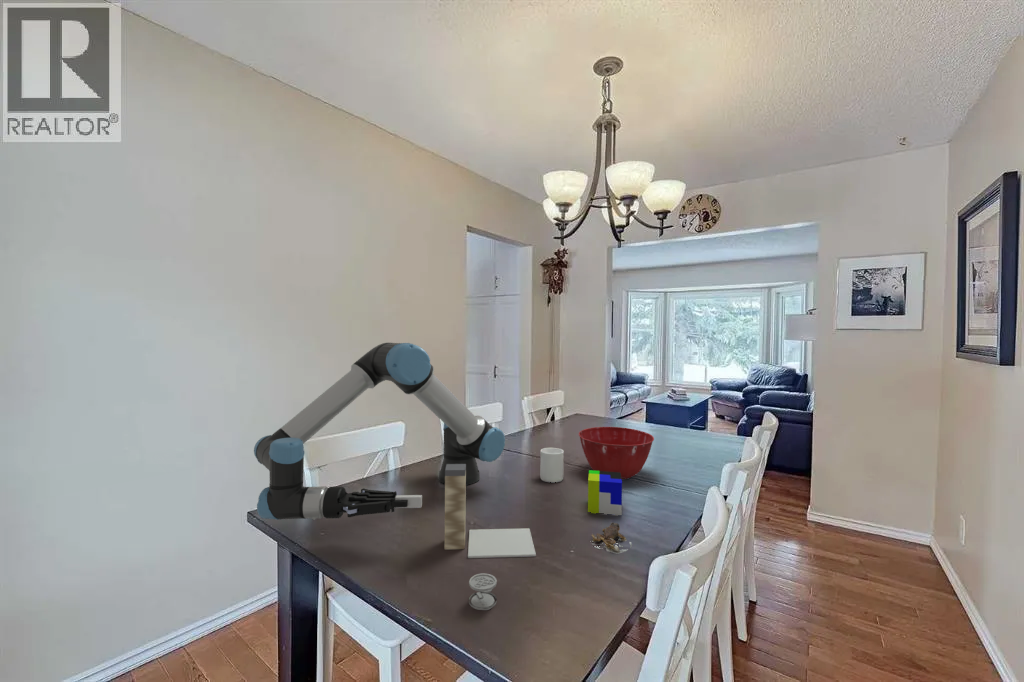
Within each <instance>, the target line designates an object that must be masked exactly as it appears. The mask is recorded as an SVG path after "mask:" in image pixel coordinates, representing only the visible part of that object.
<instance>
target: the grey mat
mask: <svg viewBox="0 0 1024 682" xmlns="http://www.w3.org/2000/svg"><path fill="white" fill-rule="evenodd" d="M533 541H534V540H533V538H532V533H531V529H530V528H529V527H528V528H523V527H522V528H491V529H490V528H483V529H469V533H468V547H467V549H468V550H467V559H485V558H486V559H487V558H488V559H489V558H492V559H493V558H523V557H524V558H525V557H527V558H529V557H537V554H536V549H535V546H534V542H533Z"/></svg>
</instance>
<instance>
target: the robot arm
mask: <svg viewBox="0 0 1024 682" xmlns="http://www.w3.org/2000/svg"><path fill="white" fill-rule="evenodd" d="M434 372H435V368H434V366H433V365H432V364H431V358H430V355H429V354H428V353H427V351H426V350H425V349H424V348H422V347H421V346H419V345H416V344H414V343H410V342H384V343H381V344H378V345H376V346H374V347H372V348H371V349H370V350H369V351H367V352H366V353H365V354H363V355H362V356H361V357H360V358H358V359H357V360H356V361H355V362H353V364H352V365H351V366H350V370H349V371H348V372H347V373H345V374H344V375H343V376H342V377H341V378H339V380H337V381H336V382H334V384H332V385H331V386H330V387H328V388H327V389H326V390H324V392H322V393H321V394H320V395H318V396H317V398H315V399H314V400H313V401H312V402H311V403H309V404H308V405H306V407H304V408H303V409H302V410H301V411H299V413H297V414H295V416H293V417H292V418H291V419H289V421H287V422H286V423H285V424H284V425H283V426H282V427H279V429H278V430H276V431H275V432H273V434H270V435H265V436H262V437H261V438H259V440H258V441H257V442H256V443H255V445H254V447H253V454H254V456H255V458H256V460H257V461H258V463H259V464H260V465H263V466H264V467H265V468H266V470H268V471H269V486H267V487H264V488H263V489H262V491H261V492H260V493H259V495H258V499H257V501H258V502H257V503H256V511H257V515H258V516H259V517H260V518H261V519H265V520H267V519H268V520H277V521H278V520H296V519H298V520H299V519H302V520H303V519H305V520H306V519H311V520H313V521H316V520H317V519H323V518H325V519H340V518H342V516H343V514H346V513H347V518H353V517H357V516H365V515H375V514H384V513H390V512H391V513H394V512H395V509H422V506H423V495H422V494H402V495H401V494H399V495H398V494H397V491H388V490H375V489H368V488H361V489H360V491H352V492H349V493H348V492H347V491H346V488H345V486H329V487H328V486H326V485H325V486H304V465H305V463H304V462H305V461H304V460H305V449H304V444H306V442H307V441H309V440H310V439H311V438H312V437H314V435H316V434H317V433H318V432H319V431H320V430H322V429H323V428H324V427H325V426H326V425H327V424H328V423H329V422H331V421H332V420H333V419H335V417H336V416H338V415H339V414H341V412H342V411H344V409H346V408H347V407H349V406H350V405H351V404H352V403H353V402H354V401H355V400H356V399H357V398H358V397H360V396H361V395H362V394H363V393H365V391H367V390H368V389H374V388H375V387H376V386H377V385H379V384H381V383H382V382H384V381H389V382H392V383H393V384H394V385H395V386H396V387H398V388H399V389H400V390H401V392H403V393H404V394H406V395H414V396H415V397H416V398H417V399H418V400H419V401H420V402H421V403H422V404H423V405H425V407H427V409H429V410H430V411H431V412H432V413H433V414H434V415H435V416H436V417H437V418H438V419H440V420H441V422H442V423H443V458H442V459H443V460H442V463H441V467H440V470H439V471H438V482H439V481H440V482H439V483H441V482H442V483H441V484H443V483H444V484H443V485H445V469H446V465H447V464H466V486H469V485H468V484H470V485H473V484H476V483H477V482H479V481H480V479H481V478H480V477H481V476H480V470H479V466H478V463H477V459H478V460H480V461H482V462H486V463H492V462H494V461H496V460H498V459H499V458H500V456H501V455H502V454H503V452H504V450H505V449H504V448H505V445H506V436H505V434H504V432H503V431H502V429H500V428H498V427H493V426H492V425H491V424H490V423H489V422H488V421H487V420H485V418H484V417H483V416H482V415H475V414H473V412H471V410H470V409H469V408H468V407H467V406H466V405H465V404H464V403H463V402H462V401H461V400H460V399H459V398H457V396H456V395H455V394H454V393H453V392H452V391H451V389H449V388H448V387H447V386H446V385H445V384H444V383H443V382H442V381H441V380H440V379H439V378H438V376H436V375H435V373H434ZM478 480H479V481H478ZM475 482H476V483H475ZM472 483H473V484H472Z"/></svg>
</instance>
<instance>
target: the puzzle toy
mask: <svg viewBox="0 0 1024 682" xmlns="http://www.w3.org/2000/svg"><path fill="white" fill-rule="evenodd" d="M587 480H588V481H587V513H588V512H591V513H590V514H596V513H604V514H603V515H607V514H615V515H614V516H618V515H622V509H623V508H622V507H623V503H622V502H623V480H622V479H621V472H607V471H594V470H593V469H591V470H590V469H589V470H588V479H587Z"/></svg>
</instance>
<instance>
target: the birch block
mask: <svg viewBox="0 0 1024 682" xmlns="http://www.w3.org/2000/svg"><path fill="white" fill-rule="evenodd" d="M466 486H467V485H466V464H447V465H446V469H445V484H444V550H465V548H466V511H467V510H466V509H467V508H466V502H467V501H466V500H467V499H466V498H467V496H466V495H467V493H466V492H467V491H466V489H467V488H466Z"/></svg>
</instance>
